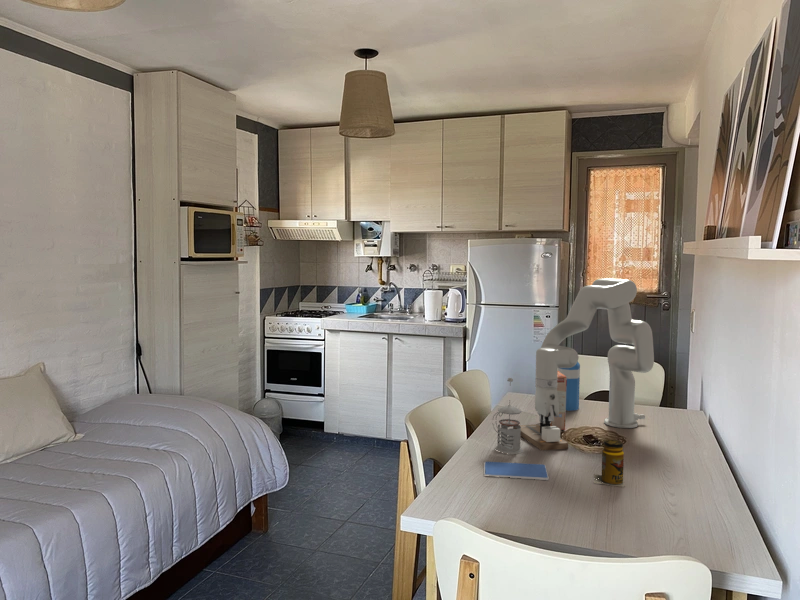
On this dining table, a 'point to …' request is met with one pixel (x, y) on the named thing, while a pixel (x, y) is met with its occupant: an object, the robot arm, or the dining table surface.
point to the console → (540, 438)
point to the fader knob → (551, 434)
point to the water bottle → (572, 386)
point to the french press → (509, 430)
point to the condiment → (612, 464)
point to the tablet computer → (516, 470)
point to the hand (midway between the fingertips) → (545, 433)
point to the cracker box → (561, 402)
